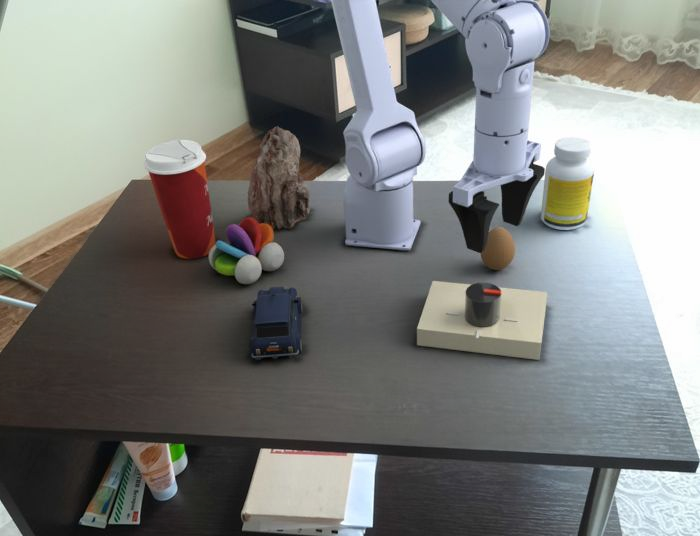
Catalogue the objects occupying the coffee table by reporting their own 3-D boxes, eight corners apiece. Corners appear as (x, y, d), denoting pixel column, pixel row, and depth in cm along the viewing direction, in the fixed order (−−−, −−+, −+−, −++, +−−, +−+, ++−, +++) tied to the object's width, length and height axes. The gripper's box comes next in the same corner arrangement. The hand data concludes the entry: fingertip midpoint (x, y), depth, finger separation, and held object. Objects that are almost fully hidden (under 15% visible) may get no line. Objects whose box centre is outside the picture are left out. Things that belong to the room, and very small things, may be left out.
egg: (520, 268, 96) (524, 229, 93) (496, 281, 95) (498, 241, 91) (496, 255, 99) (499, 216, 96) (472, 267, 98) (474, 227, 94)
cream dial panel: (415, 348, 85) (415, 330, 83) (432, 296, 93) (432, 279, 91) (538, 363, 82) (541, 345, 80) (545, 308, 89) (547, 290, 88)
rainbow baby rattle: (295, 264, 101) (289, 218, 96) (240, 296, 96) (231, 248, 91) (256, 244, 106) (248, 199, 101) (202, 273, 101) (191, 227, 96)
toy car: (302, 303, 94) (297, 266, 90) (301, 363, 84) (296, 325, 81) (256, 306, 94) (250, 270, 90) (250, 367, 84) (242, 329, 81)
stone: (300, 116, 105) (232, 124, 105) (296, 132, 99) (224, 141, 99) (315, 211, 113) (252, 217, 114) (312, 231, 107) (245, 238, 107)
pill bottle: (587, 233, 102) (599, 155, 95) (539, 231, 103) (548, 153, 96) (585, 210, 107) (597, 134, 100) (540, 208, 108) (548, 133, 101)
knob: (462, 325, 84) (463, 298, 81) (467, 305, 87) (468, 278, 84) (497, 329, 83) (499, 302, 80) (501, 308, 86) (503, 281, 83)
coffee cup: (235, 244, 106) (216, 147, 96) (190, 269, 102) (165, 169, 92) (199, 227, 111) (178, 132, 101) (155, 250, 106) (128, 153, 97)
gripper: (494, 159, 72) (487, 273, 81) (569, 112, 80) (555, 221, 89) (437, 142, 76) (436, 253, 85) (514, 99, 84) (506, 204, 93)
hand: (493, 235), depth 87 cm, fingers open, 7 cm apart
